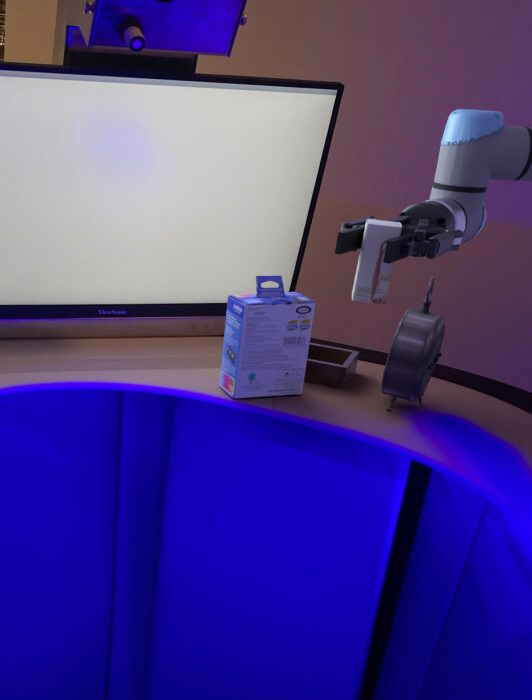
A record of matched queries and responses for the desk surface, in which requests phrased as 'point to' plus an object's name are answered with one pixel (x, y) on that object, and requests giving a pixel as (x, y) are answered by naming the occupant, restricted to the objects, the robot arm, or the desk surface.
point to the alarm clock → (413, 353)
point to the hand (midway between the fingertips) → (363, 247)
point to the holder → (330, 365)
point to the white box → (374, 262)
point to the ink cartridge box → (266, 341)
